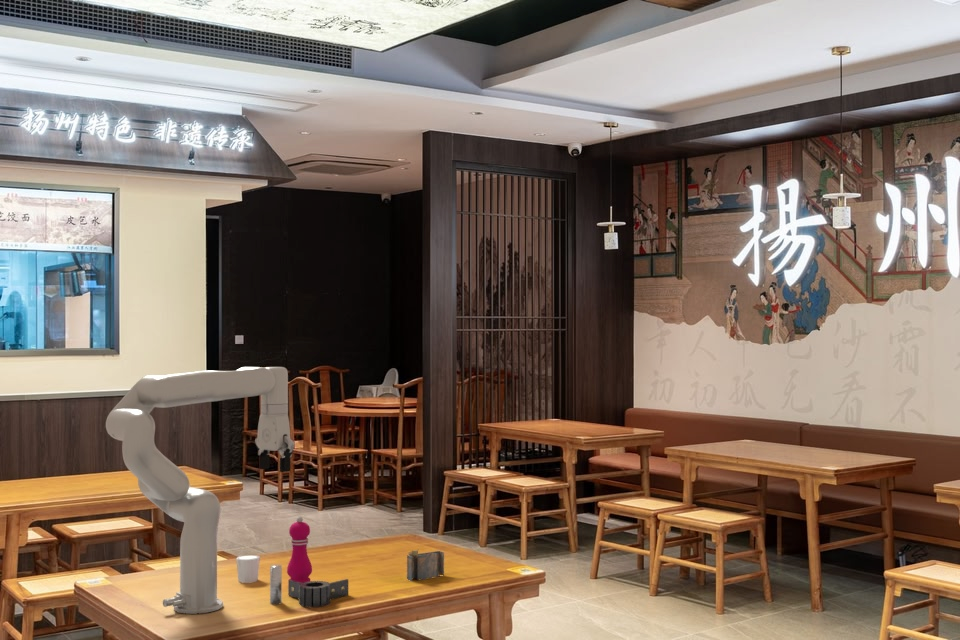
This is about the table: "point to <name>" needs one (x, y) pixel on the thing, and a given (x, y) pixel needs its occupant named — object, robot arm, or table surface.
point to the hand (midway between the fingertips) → (274, 470)
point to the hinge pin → (275, 584)
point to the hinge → (317, 592)
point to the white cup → (248, 568)
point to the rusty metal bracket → (425, 564)
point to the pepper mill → (299, 552)
